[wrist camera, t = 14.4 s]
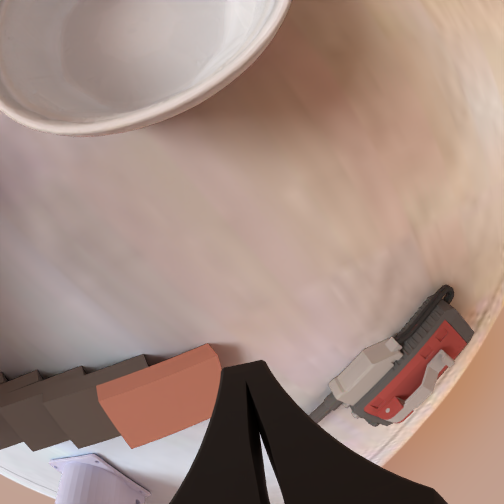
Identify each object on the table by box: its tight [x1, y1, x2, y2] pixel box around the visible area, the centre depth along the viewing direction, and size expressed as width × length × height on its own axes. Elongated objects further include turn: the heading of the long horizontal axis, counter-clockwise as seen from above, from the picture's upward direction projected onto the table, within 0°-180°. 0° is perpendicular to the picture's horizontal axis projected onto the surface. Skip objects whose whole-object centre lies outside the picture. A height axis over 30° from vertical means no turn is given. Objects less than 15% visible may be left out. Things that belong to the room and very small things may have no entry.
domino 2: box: [0, 366, 86, 451], centre depth 17 cm, size 2×5×8 cm
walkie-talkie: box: [309, 285, 474, 427], centre depth 22 cm, size 9×4×20 cm
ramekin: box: [0, 0, 292, 137], centre depth 10 cm, size 13×13×7 cm
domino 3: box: [43, 354, 149, 449], centre depth 18 cm, size 2×5×8 cm
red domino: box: [96, 343, 222, 449], centre depth 18 cm, size 2×5×8 cm
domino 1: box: [0, 370, 43, 450], centre depth 17 cm, size 2×5×8 cm
